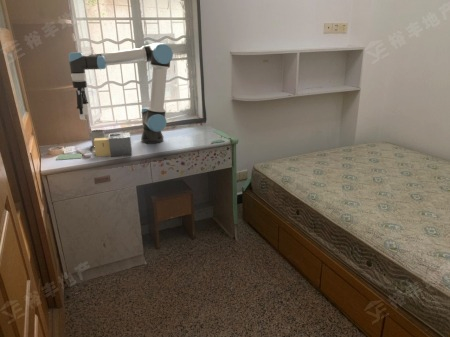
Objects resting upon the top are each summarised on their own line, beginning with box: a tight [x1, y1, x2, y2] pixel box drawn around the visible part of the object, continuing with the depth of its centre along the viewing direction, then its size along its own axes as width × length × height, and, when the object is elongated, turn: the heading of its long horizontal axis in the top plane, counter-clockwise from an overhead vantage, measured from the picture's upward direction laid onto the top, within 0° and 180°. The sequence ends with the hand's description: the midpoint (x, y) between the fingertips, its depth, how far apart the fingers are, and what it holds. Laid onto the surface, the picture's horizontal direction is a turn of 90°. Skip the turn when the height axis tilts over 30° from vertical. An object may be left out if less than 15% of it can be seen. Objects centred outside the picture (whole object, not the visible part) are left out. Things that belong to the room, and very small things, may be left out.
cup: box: [90, 129, 106, 147], centre depth 233 cm, size 8×8×10 cm
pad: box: [55, 152, 83, 161], centre depth 213 cm, size 14×9×1 cm, turn 104°
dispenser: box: [107, 132, 133, 158], centre depth 218 cm, size 13×12×12 cm
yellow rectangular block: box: [94, 137, 111, 157], centre depth 216 cm, size 13×5×10 cm, turn 104°
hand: (84, 117), depth 212 cm, fingers open, 13 cm apart
